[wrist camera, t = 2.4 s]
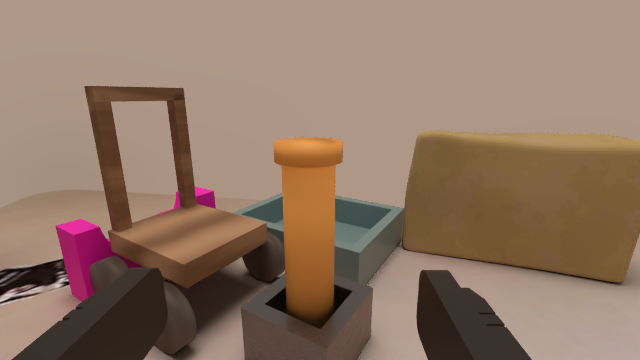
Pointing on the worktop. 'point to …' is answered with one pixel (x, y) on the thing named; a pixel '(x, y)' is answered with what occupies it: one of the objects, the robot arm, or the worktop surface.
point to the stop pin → (309, 224)
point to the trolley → (172, 220)
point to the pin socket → (307, 325)
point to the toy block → (98, 247)
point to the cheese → (526, 200)
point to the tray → (346, 233)
